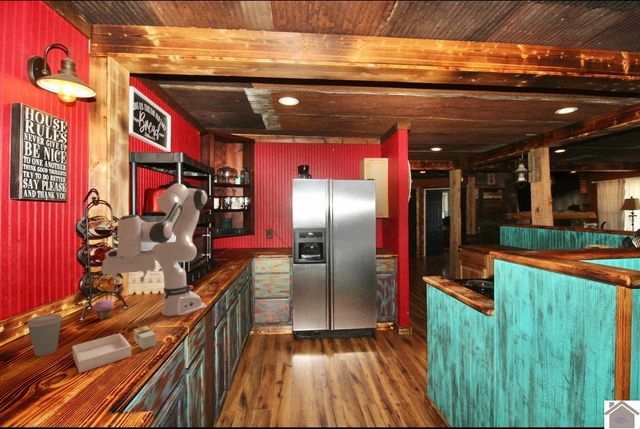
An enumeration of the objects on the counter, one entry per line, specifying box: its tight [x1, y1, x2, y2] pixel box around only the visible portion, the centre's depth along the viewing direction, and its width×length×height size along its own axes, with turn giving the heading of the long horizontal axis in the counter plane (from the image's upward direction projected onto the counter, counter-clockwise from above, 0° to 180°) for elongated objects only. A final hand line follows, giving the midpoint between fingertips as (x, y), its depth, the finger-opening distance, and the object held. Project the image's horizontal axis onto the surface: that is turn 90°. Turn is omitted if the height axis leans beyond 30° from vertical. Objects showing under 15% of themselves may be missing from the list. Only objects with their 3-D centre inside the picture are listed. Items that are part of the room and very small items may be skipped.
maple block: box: [133, 325, 151, 345], centre depth 130 cm, size 5×5×5 cm
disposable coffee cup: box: [26, 313, 63, 357], centre depth 120 cm, size 11×11×15 cm
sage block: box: [138, 330, 157, 350], centre depth 124 cm, size 5×5×5 cm
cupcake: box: [92, 298, 115, 320], centre depth 159 cm, size 9×9×10 cm
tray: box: [72, 332, 132, 373], centre depth 117 cm, size 16×18×4 cm
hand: (130, 282), depth 132 cm, fingers open, 8 cm apart
